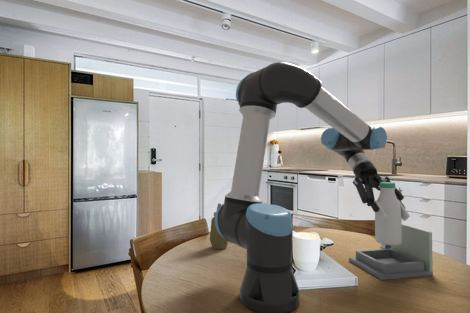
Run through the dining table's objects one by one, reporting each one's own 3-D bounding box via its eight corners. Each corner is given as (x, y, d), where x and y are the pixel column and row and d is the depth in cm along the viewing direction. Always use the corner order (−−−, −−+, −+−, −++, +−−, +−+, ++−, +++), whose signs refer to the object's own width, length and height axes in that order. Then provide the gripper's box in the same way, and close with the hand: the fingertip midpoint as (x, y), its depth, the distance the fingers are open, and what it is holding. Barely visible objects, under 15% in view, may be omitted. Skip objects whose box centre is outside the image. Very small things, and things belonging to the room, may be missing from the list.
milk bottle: (405, 246, 86) (404, 183, 86) (379, 245, 88) (378, 183, 88) (396, 239, 94) (395, 181, 94) (372, 238, 95) (371, 181, 96)
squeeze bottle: (233, 246, 113) (232, 203, 113) (221, 252, 106) (221, 205, 107) (217, 243, 117) (217, 201, 118) (205, 248, 110) (205, 204, 111)
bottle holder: (381, 280, 81) (380, 235, 81) (349, 260, 96) (348, 223, 97) (432, 275, 84) (432, 232, 84) (393, 257, 100) (392, 221, 100)
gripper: (381, 173, 108) (416, 223, 92) (334, 174, 104) (362, 227, 88) (390, 160, 103) (429, 210, 87) (342, 160, 99) (373, 213, 83)
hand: (395, 218), depth 87 cm, fingers closed on milk bottle, 7 cm apart
